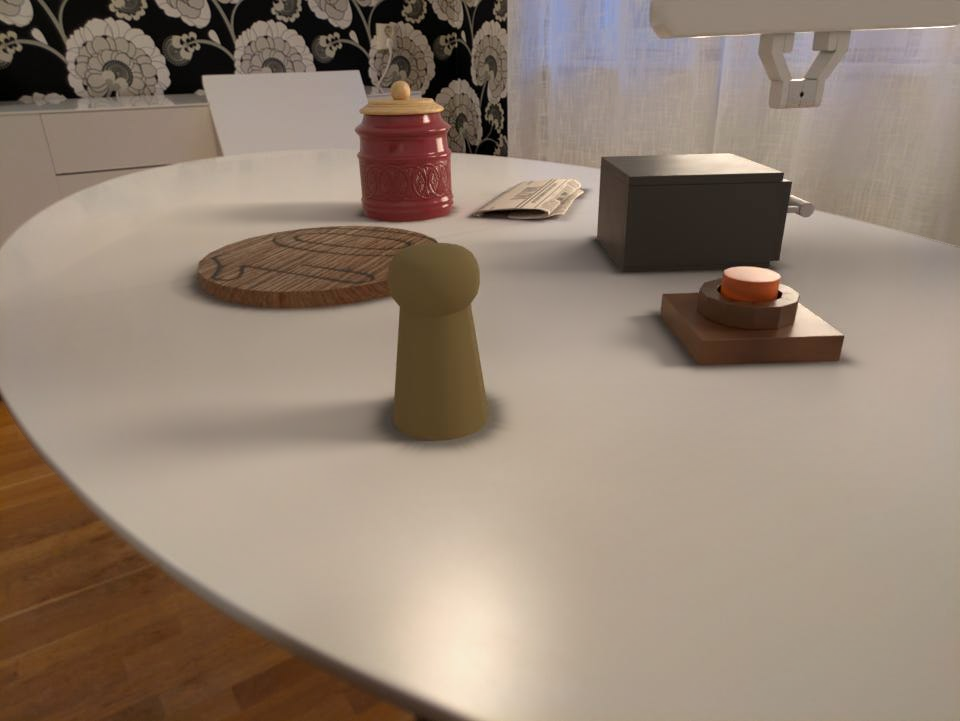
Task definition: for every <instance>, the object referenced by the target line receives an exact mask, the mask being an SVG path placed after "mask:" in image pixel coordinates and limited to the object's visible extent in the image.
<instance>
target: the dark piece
mask: <svg viewBox="0 0 960 721" xmlns="http://www.w3.org/2000/svg"><path fill="white" fill-rule="evenodd" d="M792 186H793V181H792V180H789V179H787V178H784V177H783V185H782V191H781V197H780V203H779V209H778V215H777V221H776V227H775V234H774V240H773V246H772V252H771V258H770V262H779V261H780V257H781V256H780V255H781V251H782V247H783V246H782V245H783V239H784V233H785V227H786V221H787V216H788V214H796V215H797V216H799V217H802V218H809V217H811V216H812V215H813V214H814V212H815V205H814V204H813V203H811V202H809V201H807V200H804V199H802V198H800V197H797V196H795V195H793V194H791V193H792Z"/></svg>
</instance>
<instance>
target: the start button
mask: <svg viewBox="0 0 960 721" xmlns="http://www.w3.org/2000/svg"><path fill="white" fill-rule="evenodd" d="M721 278H722V284H721V291H720V294H721V295H722V296H725V297H728V298H731V299H735V300H742V301H750V302H769V301H773V300H776V299H777V295H778V290H779V284H781V283H780V282H781V278H782V277H781V275H780V273H778V272H776V271H774V270H771V269H769V268H767V269H764V268H758V267H745V266H744V267H732V268H728V269H726V270H723V272H722V277H721Z"/></svg>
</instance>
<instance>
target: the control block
mask: <svg viewBox="0 0 960 721" xmlns="http://www.w3.org/2000/svg"><path fill="white" fill-rule="evenodd" d="M721 284H722V277H721V278H720V277H719V278H716V279H712V280H707V281H705V282H704V283H703V284H702V285H701V286H700V288H699V290H698V292H677V293H662V294H661V302H660V304H661V305H660V313H659V316H660V317H661V319H662V320H663V321H664V323H665V324H666V325H667V327H669V329H670V330H671V331H672V332H673V334H674V335H675V337H676V339H678V340H679V342H680V343H681V344H682V346H684V348H685V350H686V351H687V352H688V353H689V355H690V356H691V357H692V358H693V360H694V361H695V362H696V363H697V365H698V366H718V365H719V366H720V365H721V366H722V365H751V364H780V363H781V364H783V363H786V364H787V363H811V362H812V363H814V362H815V363H816V362H839V361H840V360H841V359H840V358H841V354H842V349H843V345H844V340H845V335H844V334H843V333H842V332H840V331H839V330H838V329H836V328H835V327H833V326H832V325H830V324H829V323H828V322H826V321H825V320H824V319H823V318H821V317H819V315H817V314H815V313H814V312H812V311H811V310H810V309H808V308H807V307H806V306H805V305H803V304H802V303H800V296H801V295H800V293H799V292H798V291H796V290H794V289H793V288H792V287H790V286H788V285H785V284H782V283H780V284H779V290H778V295H777V299H776V300H773V301H769V302H750V301H742V300H735V299H731V298H728V297H725V296H722V295H721V294H720V291H721Z"/></svg>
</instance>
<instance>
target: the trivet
mask: <svg viewBox="0 0 960 721" xmlns="http://www.w3.org/2000/svg"><path fill="white" fill-rule="evenodd" d="M423 243H439V241H438V240H436V238H434V237H432V236H429V235H427V234H424V233H422V232H418V231H414V230H413V231H412V230H408V229H405V228H396V227H387V226H373V225H336V226H335V225H334V226H333V225H332V226H331V225H330V226H319V227H318V226H317V227H308V228H307V227H306V228H297V229H291V230H284V231H277V232H270V233H267V234H261V235H257V236H253V237H248V238H245V239H242V240H238V241H235V242H233V243H229V244H226V245H224V246H222V247H219V248H217V249H215V250H213V251H211V252H209V253H208V254H206V255H205V256H204V257H202V258H201V260H199V261H198V266H197V268H196V272H197V277H198V283H199V286H200V287H201V288H202V290H203V291H204V292H205V293H206V294H207V295H209V296H211V297H213V298H215V299H218V300H220V301H223V302H227V303H231V304H236V305H241V306H246V307H247V306H248V307H255V308H257V307H259V308H274V309H305V308H322V307H323V308H324V307H331V306H333V307H334V306H340V305H341V306H342V305H347V304H348V305H349V304H350V305H351V304H356V303H361V302H367V301H373V300H376V299H381V298H386V297H390V296H391V294H390V291H389V288H388V281H387V274H388V268H389V264H390V262H391V260H392V258H393V256H394V254H396V253H397V252H399V251H400V250H402V249H403V248H406V247H409V246H412V245H417V244H423Z"/></svg>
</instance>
